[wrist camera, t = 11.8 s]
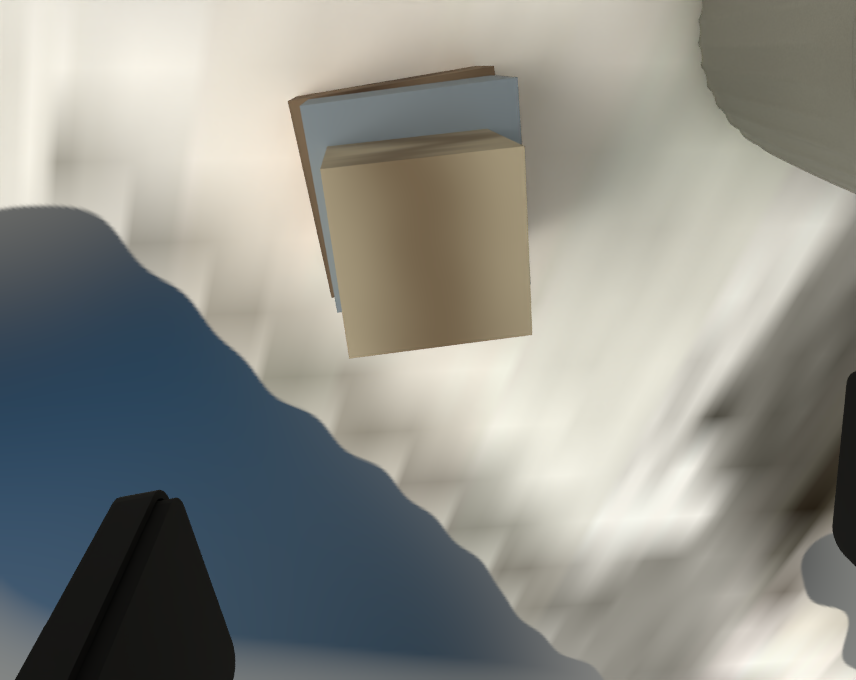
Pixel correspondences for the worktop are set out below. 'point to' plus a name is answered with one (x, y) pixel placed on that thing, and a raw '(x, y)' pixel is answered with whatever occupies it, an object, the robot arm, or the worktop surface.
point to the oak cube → (429, 240)
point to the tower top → (405, 122)
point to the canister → (787, 78)
